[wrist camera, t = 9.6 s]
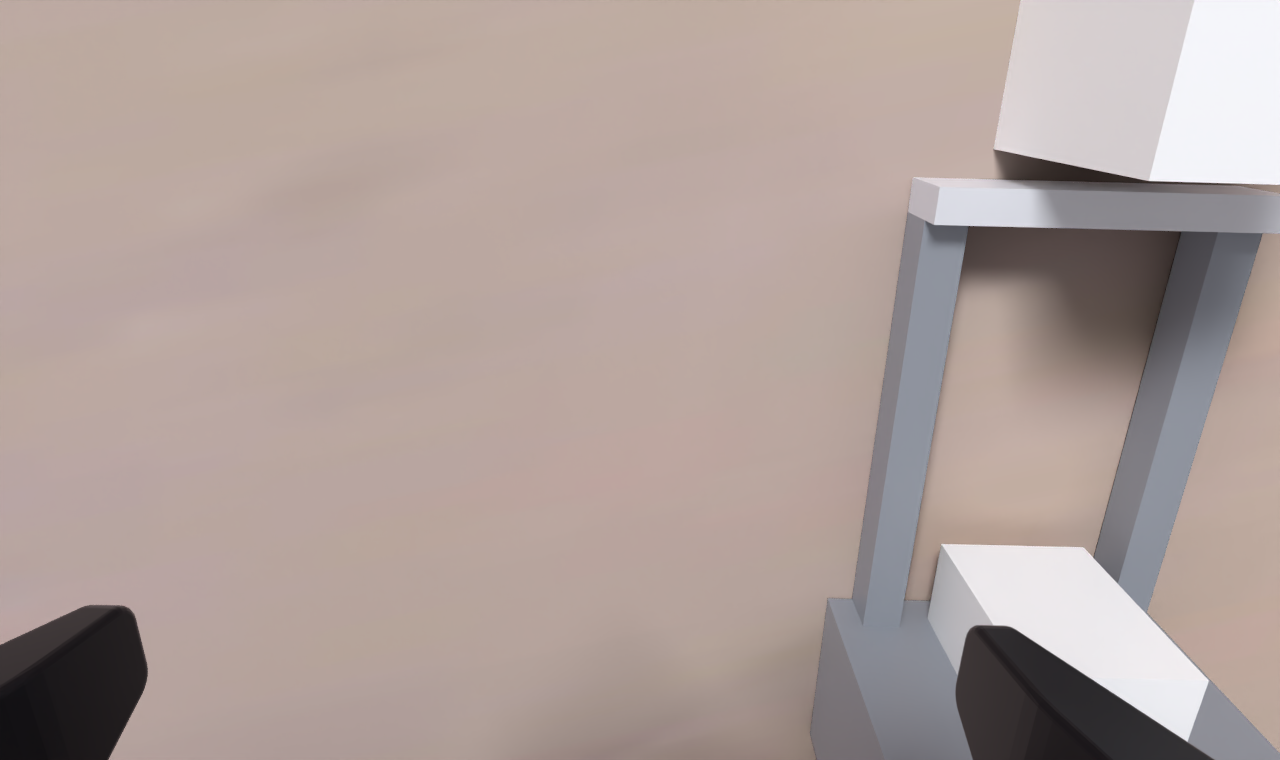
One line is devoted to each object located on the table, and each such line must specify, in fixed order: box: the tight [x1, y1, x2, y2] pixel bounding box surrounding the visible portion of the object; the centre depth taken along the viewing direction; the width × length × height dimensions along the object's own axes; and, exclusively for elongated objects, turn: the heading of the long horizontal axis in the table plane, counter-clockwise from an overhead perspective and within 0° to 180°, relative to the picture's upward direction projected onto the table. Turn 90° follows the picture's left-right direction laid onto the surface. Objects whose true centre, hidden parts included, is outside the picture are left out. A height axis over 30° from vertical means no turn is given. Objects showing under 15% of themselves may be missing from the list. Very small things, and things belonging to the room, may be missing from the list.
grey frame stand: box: [810, 177, 1280, 760], centre depth 19 cm, size 17×9×6 cm, turn 179°
